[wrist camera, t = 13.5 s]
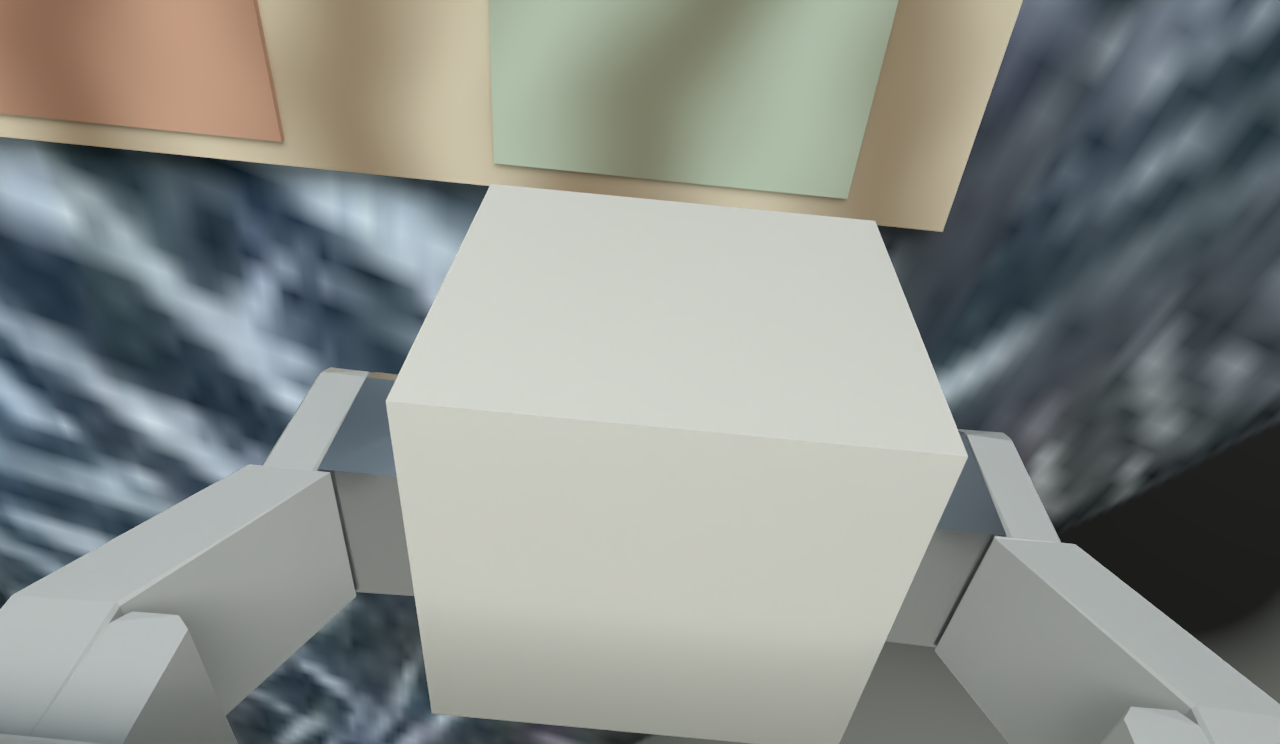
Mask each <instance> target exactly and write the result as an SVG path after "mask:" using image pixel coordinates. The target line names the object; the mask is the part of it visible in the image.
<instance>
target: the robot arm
mask: <svg viewBox="0 0 1280 744" xmlns="http://www.w3.org/2000/svg"><path fill="white" fill-rule="evenodd" d="M397 376H398V375H396V374H388V373H379V372H374V373H371V372H366V371H357V370H348V369H339V368H328V369H326V370H325V371H323V372H321V373H320V374H319V375H318V377H317V378H316V380H315V382H314V383H313V385H312V386H311V388H310V390H309V391H308V393H307V394H306V396H305V398H304V399H303V401H302V402H301V404H300V406H299V407H298V409H297V410H296V412H295V414H294V415H293V417H292V419H291V420H290V422H289V423H288V425H287V427H286V428H285V430H284V431H283V433H282V435H281V436H280V438H279V439H278V441H277V443H276V444H275V446H274V447H273V449H272V451H271V452H270V454H269V455H268V457H267V459H266V460H265V462H264V463H263V465H262V466H260V465H249V464H248V465H246V466H245V467H243V468H241V469H239V470H237V471H236V472H234V473H232V474H230V475H228V476H227V477H225V478H223V479H221V480H219V481H218V482H216V483H214V484H212V485H210V486H208V487H207V488H205V489H203V490H201V491H199V492H198V493H196V494H194V495H192V496H190V497H189V498H187V499H185V500H183V501H181V502H180V503H178V504H176V505H174V506H172V507H171V508H169V509H167V510H165V511H163V512H161V513H160V514H158V515H156V516H154V517H152V518H151V519H149V520H147V521H145V522H143V523H142V524H140V525H138V526H136V527H134V528H133V529H131V530H129V531H127V532H125V533H124V534H122V535H120V536H118V537H116V538H114V539H113V540H111V541H109V542H107V543H105V544H104V545H102V546H100V547H98V548H96V549H95V550H93V551H91V552H89V553H87V554H86V555H84V556H82V557H80V558H78V559H77V560H75V561H73V562H71V563H69V564H67V565H66V566H64V567H62V568H60V569H58V570H57V571H55V572H53V573H51V574H49V575H48V576H46V577H44V578H42V579H40V580H39V581H37V582H35V583H33V584H31V585H29V586H28V587H26V588H24V589H22V590H20V591H19V592H17V593H15V594H13V595H12V596H11V597H10V598H9V600H8V601H7V602H6V603H5V604H4V606H3V607H2V608H1V609H0V744H237V742H236V739H235V737H234V735H233V732H232V730H231V728H230V725H229V723H228V721H227V718H226V715H227V714H228V713H229V712H230V711H231V710H232V709H233V708H234V707H236V706H237V705H238V704H239V703H240V702H241V701H242V700H243V699H244V698H245V697H247V696H248V695H249V694H250V693H251V692H252V691H253V690H254V689H255V688H256V687H258V686H259V685H260V684H261V683H262V682H263V681H264V680H265V679H266V678H267V677H269V676H270V675H271V674H272V673H273V672H274V671H275V670H276V669H277V668H278V667H280V666H281V665H282V664H283V663H284V662H285V661H286V660H287V659H288V658H289V657H290V656H292V655H293V654H294V653H295V652H296V651H297V650H298V649H299V648H300V647H301V646H303V645H304V644H305V643H306V642H307V641H308V640H309V639H310V638H311V637H312V636H314V635H315V634H316V633H317V632H318V631H319V630H320V629H321V628H322V627H323V626H325V625H326V624H327V623H328V622H329V621H330V620H331V619H332V618H333V617H334V616H335V615H337V614H338V613H339V612H340V611H341V610H342V609H343V608H344V607H345V606H346V605H348V604H349V603H350V602H351V601H352V600H353V599H354V598H355V597H356V592H364V593H379V594H393V595H408V596H414V589H413V583H412V576H411V569H410V562H409V556H408V549H407V542H406V536H405V529H404V522H403V515H402V509H401V502H400V495H399V488H398V482H397V475H396V468H395V461H394V455H393V448H392V441H391V435H390V428H389V421H388V414H387V408H386V399H387V397H388V395H389V393H390V391H391V389H392V387H393V385H394V383H395V381H396V378H397ZM958 432H959V434H960V437H961V439H962V442H963V444H964V447H965V450H966V452H967V455H968V458H967V460H966V463H965V465H964V467H963V469H962V472H961V474H960V476H959V478H958V481H957V483H956V485H955V487H954V489H953V492H952V494H951V496H950V498H949V501H948V503H947V505H946V507H945V509H944V512H943V514H942V516H941V518H940V521H939V523H938V525H937V527H936V529H935V532H934V534H933V536H932V538H931V541H930V543H929V545H928V547H927V550H926V552H925V554H924V556H923V558H922V561H921V563H920V565H919V567H918V570H917V572H916V574H915V576H914V578H913V581H912V583H911V585H910V587H909V590H908V592H907V594H906V596H905V598H904V601H903V603H902V605H901V607H900V610H899V612H898V614H897V616H896V618H895V621H894V623H893V625H892V627H891V630H890V632H889V634H888V636H887V639H886V641H888V642H896V643H904V644H912V645H920V646H928V647H936V649H935V652H936V653H937V655H938V656H939V657H940V658H941V659H942V661H943V662H944V663H945V665H946V666H947V667H948V668H949V669H950V671H951V672H952V673H953V675H954V676H955V677H956V678H957V680H958V681H959V682H960V683H961V685H962V686H963V687H964V688H965V690H966V691H967V692H968V693H969V695H970V696H971V697H972V698H973V700H974V701H975V702H976V703H977V705H978V706H979V707H980V708H981V710H982V711H983V712H984V713H985V715H986V716H987V717H988V718H989V720H990V721H991V722H992V723H993V725H994V726H995V727H996V728H997V730H998V731H999V732H1000V733H1001V735H1002V736H1003V737H1004V738H1005V740H1006V741H1007V742H1008V743H1009V744H1280V704H1279V703H1277V702H1276V701H1275V700H1274V699H1272V698H1271V697H1270V696H1268V695H1267V694H1266V693H1265V692H1263V691H1262V690H1261V689H1259V688H1258V687H1257V686H1255V685H1254V684H1253V683H1252V682H1251V681H1249V680H1248V679H1246V678H1245V677H1244V676H1243V675H1242V674H1240V673H1239V672H1238V671H1236V670H1235V669H1234V668H1233V667H1231V666H1230V665H1229V664H1227V663H1226V662H1225V661H1224V660H1222V659H1221V658H1220V657H1219V656H1217V655H1216V654H1215V653H1214V652H1212V651H1211V650H1210V649H1208V648H1207V647H1206V646H1205V645H1203V644H1202V643H1201V642H1199V641H1198V640H1197V639H1196V638H1194V637H1193V636H1192V635H1191V634H1189V633H1188V632H1187V631H1185V630H1184V629H1183V628H1182V627H1180V626H1179V625H1177V624H1176V623H1175V622H1174V621H1173V620H1171V619H1170V618H1169V617H1167V616H1166V615H1165V614H1164V613H1162V612H1161V611H1160V610H1159V609H1157V608H1156V607H1155V606H1153V605H1152V604H1151V603H1150V602H1148V601H1147V600H1146V599H1145V598H1143V597H1142V596H1141V595H1139V594H1138V593H1137V592H1135V591H1134V590H1133V589H1132V588H1130V587H1129V586H1128V585H1127V584H1125V583H1124V582H1123V581H1121V580H1120V579H1119V578H1118V577H1116V576H1115V575H1114V574H1113V573H1111V572H1110V571H1109V570H1107V569H1106V568H1105V567H1104V566H1102V565H1101V564H1100V563H1098V562H1097V561H1096V560H1095V559H1093V558H1092V557H1091V556H1090V555H1088V554H1087V553H1086V552H1084V551H1083V550H1082V549H1081V548H1079V547H1078V546H1077V545H1076V544H1067V543H1061V541H1060V539H1059V537H1058V535H1057V533H1056V531H1055V529H1054V527H1053V525H1052V523H1051V521H1050V519H1049V516H1048V514H1047V512H1046V510H1045V508H1044V506H1043V504H1042V502H1041V500H1040V498H1039V496H1038V494H1037V492H1036V490H1035V487H1034V485H1033V483H1032V481H1031V479H1030V477H1029V475H1028V473H1027V471H1026V469H1025V467H1024V465H1023V463H1022V460H1021V458H1020V456H1019V454H1018V452H1017V450H1016V448H1015V446H1014V444H1013V442H1012V440H1011V439H1010V438H1009V437H1008V436H1007V435H1005V434H1004V433H1001V432H988V431H974V430H961V429H958Z"/></svg>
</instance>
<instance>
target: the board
mask: <svg viewBox="0 0 1280 744" xmlns="http://www.w3.org/2000/svg"><path fill="white" fill-rule="evenodd" d="M1022 2H1023V0H0V137H8V138H18V139H28V140H38V141H48V142H58V143H68V144H77V145H87V146H97V147H107V148H117V149H127V150H137V151H147V152H157V153H167V154H177V155H187V156H196V157H206V158H216V159H226V160H236V161H246V162H256V163H266V164H276V165H286V166H296V167H305V168H315V169H325V170H335V171H345V172H355V173H365V174H375V175H385V176H395V177H405V178H415V179H424V180H434V181H444V182H454V183H464V184H474V185H484V186H490V184H499V185H509V186H519V187H530V188H540V189H551V190H561V191H571V192H582V193H592V194H602V195H613V196H623V197H633V198H644V199H654V200H665V201H675V202H685V203H696V204H706V205H716V206H727V207H737V208H747V209H758V210H768V211H779V212H789V213H799V214H810V215H820V216H830V217H841V218H851V219H861V220H872V221H875V222H876V225H880V226H890V227H900V228H910V229H920V230H930V231H940V232H943V229H944V226H945V224H946V221H947V218H948V215H949V212H950V209H951V206H952V203H953V200H954V198H955V195H956V192H957V189H958V186H959V183H960V180H961V177H962V175H963V172H964V169H965V166H966V163H967V160H968V157H969V154H970V151H971V149H972V146H973V143H974V140H975V137H976V134H977V131H978V128H979V126H980V123H981V120H982V117H983V114H984V111H985V108H986V105H987V103H988V100H989V97H990V94H991V91H992V88H993V85H994V82H995V79H996V77H997V74H998V71H999V68H1000V65H1001V62H1002V59H1003V56H1004V54H1005V51H1006V48H1007V45H1008V42H1009V39H1010V36H1011V33H1012V30H1013V28H1014V25H1015V22H1016V19H1017V16H1018V13H1019V10H1020V7H1021V5H1022Z"/></svg>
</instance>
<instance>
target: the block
mask: <svg viewBox="0 0 1280 744" xmlns="http://www.w3.org/2000/svg"><path fill="white" fill-rule="evenodd" d="M386 408H387V414H388V421H389V428H390V435H391V441H392V448H393V455H394V461H395V468H396V475H397V482H398V488H399V495H400V502H401V509H402V515H403V522H404V529H405V536H406V542H407V549H408V556H409V562H410V569H411V576H412V583H413V589H414V596H415V603H416V610H417V616H418V623H419V630H420V637H421V643H422V650H423V657H424V663H425V670H426V677H427V684H428V690H429V697H430V704H431V711H432V714H442V715H452V716H463V717H474V718H484V719H495V720H506V721H517V722H527V723H538V724H549V725H559V726H570V727H581V728H592V729H602V730H613V731H624V732H634V733H645V734H656V735H666V736H677V737H688V738H699V739H710V740H720V741H731V742H741V743H742V742H743V743H752V744H839V743H840V741H841V739H842V736H843V734H844V732H845V730H846V728H847V725H848V723H849V721H850V718H851V716H852V714H853V712H854V710H855V708H856V705H857V703H858V701H859V698H860V696H861V694H862V692H863V690H864V687H865V685H866V683H867V681H868V678H869V676H870V674H871V672H872V669H873V667H874V665H875V663H876V661H877V658H878V656H879V654H880V652H881V650H882V647H883V645H884V642H885V641H886V639H887V636H888V634H889V632H890V630H891V627H892V625H893V623H894V621H895V618H896V616H897V614H898V612H899V610H900V607H901V605H902V603H903V601H904V598H905V596H906V594H907V592H908V590H909V587H910V585H911V583H912V581H913V578H914V576H915V574H916V572H917V570H918V567H919V565H920V563H921V561H922V558H923V556H924V554H925V552H926V550H927V547H928V545H929V543H930V541H931V538H932V536H933V534H934V532H935V529H936V527H937V525H938V523H939V521H940V518H941V516H942V514H943V512H944V509H945V507H946V505H947V503H948V501H949V498H950V496H951V494H952V492H953V489H954V487H955V485H956V483H957V481H958V478H959V476H960V474H961V472H962V469H963V467H964V465H965V463H966V460H967V458H968V455H967V452H966V450H965V447H964V444H963V442H962V439H961V437H960V434H959V432H958V429H957V427H956V424H955V422H954V419H953V417H952V414H951V412H950V409H949V407H948V404H947V402H946V399H945V396H944V394H943V391H942V389H941V386H940V384H939V381H938V379H937V376H936V374H935V371H934V369H933V366H932V364H931V361H930V359H929V356H928V353H927V351H926V348H925V346H924V343H923V341H922V338H921V336H920V333H919V331H918V328H917V326H916V323H915V321H914V318H913V316H912V313H911V310H910V308H909V305H908V303H907V300H906V298H905V295H904V293H903V290H902V288H901V285H900V283H899V280H898V278H897V275H896V273H895V270H894V267H893V265H892V262H891V260H890V257H889V255H888V252H887V250H886V247H885V245H884V242H883V240H882V237H881V235H880V232H879V230H878V227H877V225H876V222H875V221H872V220H861V219H851V218H841V217H830V216H820V215H810V214H799V213H789V212H779V211H768V210H758V209H747V208H737V207H727V206H716V205H706V204H696V203H685V202H675V201H665V200H654V199H644V198H633V197H623V196H613V195H602V194H592V193H582V192H571V191H561V190H551V189H540V188H530V187H519V186H509V185H499V184H490V187H489V189H488V191H487V193H486V195H485V197H484V199H483V201H482V203H481V205H480V207H479V209H478V211H477V213H476V215H475V218H474V220H473V222H472V224H471V226H470V228H469V230H468V232H467V234H466V236H465V238H464V240H463V242H462V244H461V246H460V248H459V251H458V253H457V255H456V257H455V259H454V261H453V263H452V265H451V267H450V269H449V271H448V273H447V275H446V277H445V279H444V281H443V284H442V286H441V288H440V290H439V292H438V294H437V296H436V298H435V300H434V302H433V304H432V306H431V308H430V310H429V312H428V315H427V317H426V319H425V321H424V323H423V325H422V327H421V329H420V331H419V333H418V335H417V337H416V339H415V341H414V343H413V345H412V348H411V350H410V352H409V354H408V356H407V358H406V360H405V362H404V364H403V366H402V368H401V370H400V372H399V374H398V376H397V378H396V381H395V383H394V385H393V387H392V389H391V391H390V393H389V395H388V397H387V399H386Z"/></svg>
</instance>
